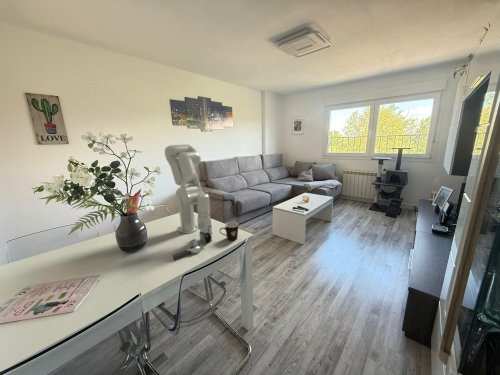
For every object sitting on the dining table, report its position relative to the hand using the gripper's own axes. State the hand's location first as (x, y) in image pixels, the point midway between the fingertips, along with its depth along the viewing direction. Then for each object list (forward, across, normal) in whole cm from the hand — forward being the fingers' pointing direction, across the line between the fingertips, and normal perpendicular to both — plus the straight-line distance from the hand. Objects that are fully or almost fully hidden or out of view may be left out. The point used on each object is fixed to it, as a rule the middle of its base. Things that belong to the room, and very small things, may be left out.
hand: (205, 239), depth 131 cm
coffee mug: (+1, +8, +13) cm, 15 cm away
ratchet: (+1, +6, -15) cm, 17 cm away
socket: (+1, 0, 0) cm, 1 cm away
